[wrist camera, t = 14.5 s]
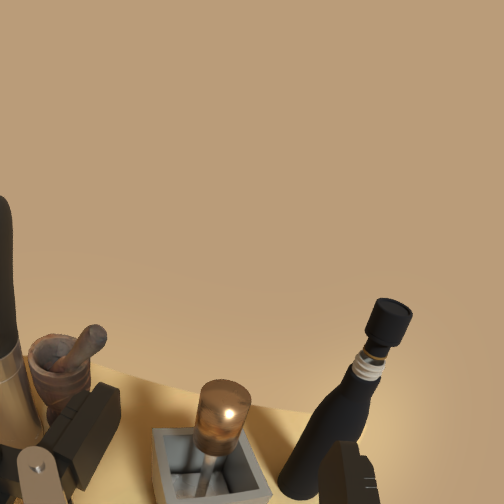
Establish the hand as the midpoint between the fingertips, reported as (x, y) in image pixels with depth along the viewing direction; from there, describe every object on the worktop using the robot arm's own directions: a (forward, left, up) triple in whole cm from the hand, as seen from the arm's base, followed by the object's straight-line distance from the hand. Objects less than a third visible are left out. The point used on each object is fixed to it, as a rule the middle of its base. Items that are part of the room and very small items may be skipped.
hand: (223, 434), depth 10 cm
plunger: (+5, +10, -28) cm, 30 cm away
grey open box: (+5, +10, -31) cm, 33 cm away
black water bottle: (+20, +11, -31) cm, 38 cm away
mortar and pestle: (-10, +25, -31) cm, 41 cm away
